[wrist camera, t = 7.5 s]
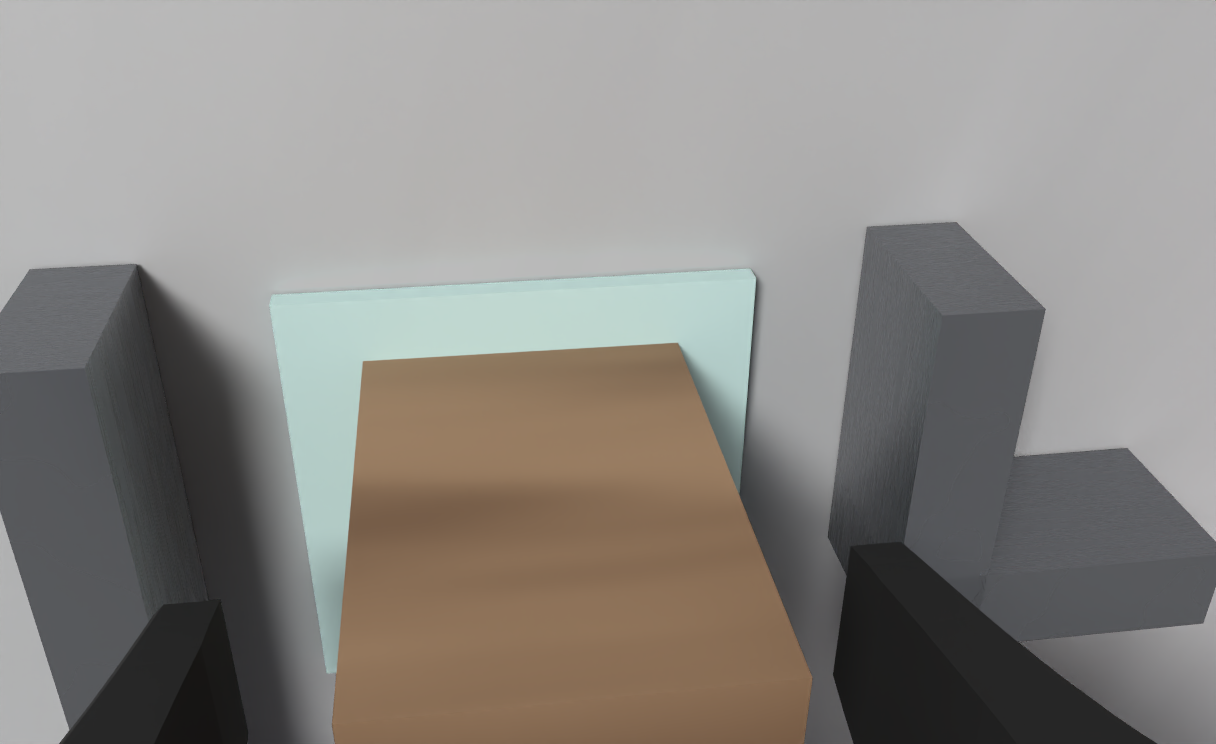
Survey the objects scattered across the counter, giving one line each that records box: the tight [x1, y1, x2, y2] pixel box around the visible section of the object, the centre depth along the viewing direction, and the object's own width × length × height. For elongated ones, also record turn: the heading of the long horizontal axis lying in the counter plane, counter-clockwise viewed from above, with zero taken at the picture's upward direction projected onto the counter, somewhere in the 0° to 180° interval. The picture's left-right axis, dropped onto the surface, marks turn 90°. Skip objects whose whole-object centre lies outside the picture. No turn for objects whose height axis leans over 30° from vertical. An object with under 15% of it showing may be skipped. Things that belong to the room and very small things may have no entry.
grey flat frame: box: [0, 222, 1216, 730], centre depth 17 cm, size 15×15×2 cm
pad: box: [269, 269, 756, 673], centre depth 16 cm, size 6×6×1 cm
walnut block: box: [332, 343, 813, 744], centre depth 13 cm, size 4×4×6 cm
